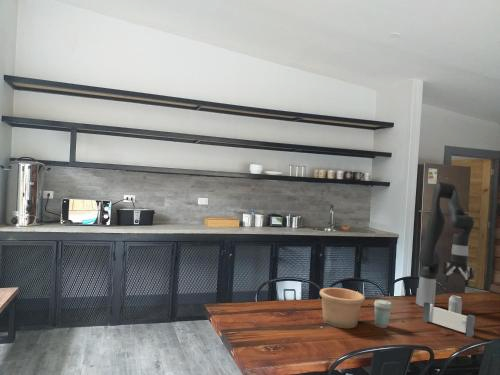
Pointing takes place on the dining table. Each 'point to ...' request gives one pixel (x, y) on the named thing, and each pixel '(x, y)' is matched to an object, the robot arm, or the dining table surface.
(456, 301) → the energy drink can
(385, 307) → the coffee cup
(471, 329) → the gate frame
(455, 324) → the gate leaf
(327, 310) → the pottery
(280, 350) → the dining table surface
